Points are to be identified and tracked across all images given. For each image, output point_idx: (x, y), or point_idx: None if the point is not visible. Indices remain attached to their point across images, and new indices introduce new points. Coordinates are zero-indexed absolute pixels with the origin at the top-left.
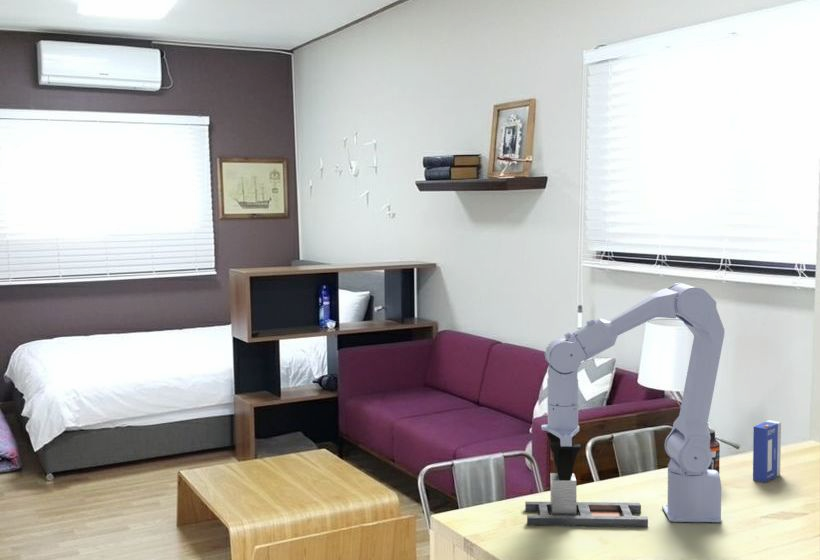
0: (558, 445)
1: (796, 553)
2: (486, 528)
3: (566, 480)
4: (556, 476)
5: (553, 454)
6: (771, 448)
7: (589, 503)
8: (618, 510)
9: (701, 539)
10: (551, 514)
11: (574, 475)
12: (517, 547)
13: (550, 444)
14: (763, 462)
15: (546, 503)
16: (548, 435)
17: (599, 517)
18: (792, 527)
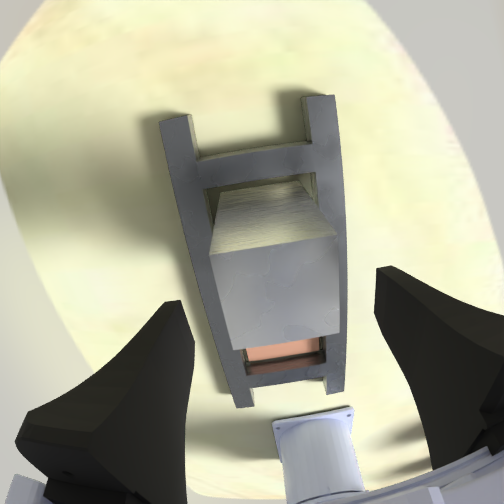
0: (40, 470)
1: (191, 489)
2: (119, 8)
3: (225, 316)
4: (284, 268)
5: (413, 295)
6: None
7: None
8: (323, 351)
9: (201, 444)
10: (259, 189)
11: (307, 338)
12: (17, 135)
13: (24, 441)
14: None
15: (324, 171)
16: (494, 359)
17: (221, 330)
18: (277, 492)
